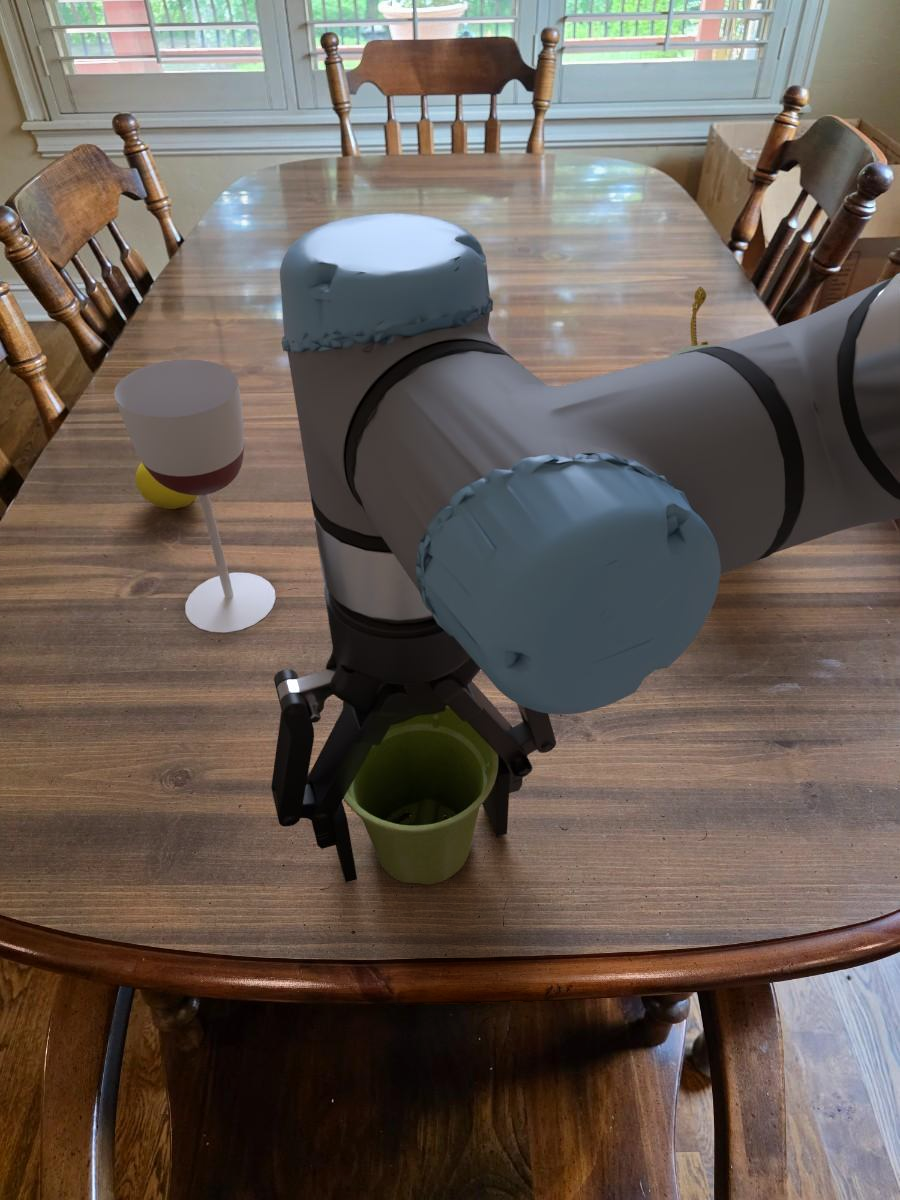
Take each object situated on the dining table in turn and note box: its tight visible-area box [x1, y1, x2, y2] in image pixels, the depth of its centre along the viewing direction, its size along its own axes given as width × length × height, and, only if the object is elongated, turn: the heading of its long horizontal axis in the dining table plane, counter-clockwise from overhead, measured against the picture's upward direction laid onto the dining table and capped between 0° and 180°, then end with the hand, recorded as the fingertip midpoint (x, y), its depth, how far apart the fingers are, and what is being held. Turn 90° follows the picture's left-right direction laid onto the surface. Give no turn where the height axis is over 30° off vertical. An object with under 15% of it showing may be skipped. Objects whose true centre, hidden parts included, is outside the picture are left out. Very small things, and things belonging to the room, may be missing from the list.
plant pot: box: [343, 706, 498, 885], centre depth 53 cm, size 9×9×9 cm
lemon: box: [134, 462, 199, 510], centre depth 82 cm, size 7×5×5 cm
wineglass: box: [113, 358, 277, 633], centre depth 66 cm, size 8×9×20 cm
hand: (421, 840), depth 56 cm, fingers open, 9 cm apart
